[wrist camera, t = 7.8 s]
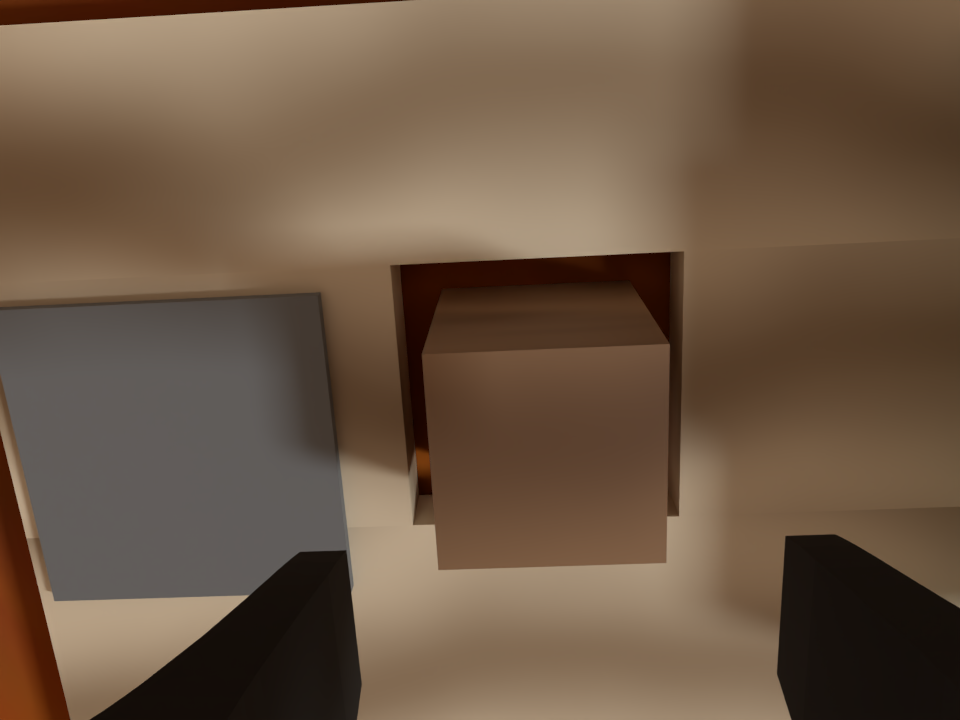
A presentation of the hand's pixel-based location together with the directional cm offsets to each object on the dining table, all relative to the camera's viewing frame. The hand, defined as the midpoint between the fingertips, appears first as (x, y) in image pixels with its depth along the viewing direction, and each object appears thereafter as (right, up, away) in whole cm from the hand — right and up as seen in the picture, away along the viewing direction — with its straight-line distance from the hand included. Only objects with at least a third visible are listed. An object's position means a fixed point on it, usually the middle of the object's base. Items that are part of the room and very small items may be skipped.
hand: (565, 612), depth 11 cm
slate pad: (-8, +1, +8) cm, 11 cm away
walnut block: (0, +3, +9) cm, 10 cm away
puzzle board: (+3, +1, +9) cm, 10 cm away
